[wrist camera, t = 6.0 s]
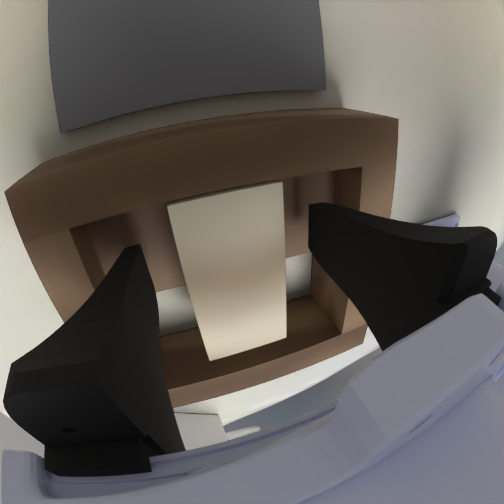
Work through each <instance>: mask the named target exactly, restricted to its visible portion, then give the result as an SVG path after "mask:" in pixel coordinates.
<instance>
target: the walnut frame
mask: <svg viewBox="0 0 504 504" xmlns="http://www.w3.org/2000/svg"><path fill="white" fill-rule="evenodd" d="M398 120H399V119H396V118H392V117H388V116H383V115H378V114H373V113H368V112H363V111H357V110H351V109H345V108H326V109H298V110H282V111H269V112H258V113H249V114H240V115H232V116H225V117H218V118H211V119H205V120H199V121H193V122H187V123H182V124H177V125H172V126H167V127H162V128H158V129H153V130H149V131H145V132H141V133H137V134H133V135H129V136H125V137H121V138H117V139H114V140H110V141H107V142H103V143H100V144H97V145H94V146H90V147H87V148H84V149H81V150H78V151H75V152H72V153H69V154H66V155H63V156H61V157H58V158H55V159H53V160H50V161H47V162H45V163H42V164H40V165H39V166H38V167H36V168H35V169H33V170H32V171H31V172H29V173H28V174H26V175H25V176H24V177H22V178H21V179H20V180H18V181H17V182H16V183H15V184H13V185H12V186H11V187H9V188H8V189H7V190H6V191H5V195H6V199H7V202H8V204H9V207H10V210H11V213H12V216H13V219H14V221H15V224H16V226H17V229H18V231H19V234H20V236H21V239H22V241H23V244H24V246H25V248H26V251H27V253H28V255H29V257H30V259H31V262H32V264H33V266H34V268H35V270H36V272H37V274H38V276H39V278H40V280H41V282H42V284H43V286H44V288H45V290H46V292H47V293H48V295H49V297H50V299H51V301H52V302H53V304H54V306H55V308H56V310H57V311H58V313H59V315H60V316H61V318H62V320H63V321H64V323H65V322H66V321H67V320H68V319H69V318H70V317H71V316H72V315H73V314H74V313H75V312H76V311H77V310H78V309H79V308H80V307H81V306H82V305H83V304H84V303H85V302H86V300H87V299H88V298H89V297H90V296H91V294H92V293H93V292H94V291H95V289H96V288H97V287H98V285H99V284H100V283H101V281H102V280H103V279H104V277H105V276H106V275H107V273H108V272H109V270H110V269H111V267H112V266H113V264H114V263H115V261H116V260H117V258H118V257H119V255H120V254H121V252H122V251H123V250H124V248H126V247H129V246H133V245H137V244H141V247H142V250H143V254H144V257H145V260H146V263H147V266H148V269H149V272H150V275H151V278H152V281H153V284H154V287H155V292H158V291H162V290H166V289H170V288H174V287H178V286H182V285H186V281H185V277H184V273H183V270H182V266H181V262H180V258H179V254H178V250H177V246H176V242H175V238H174V234H173V230H172V226H171V221H170V217H169V213H168V208H167V203H166V202H169V201H173V200H177V199H181V198H186V197H190V196H195V195H199V194H204V193H208V192H213V191H218V190H223V189H227V188H232V187H238V186H243V185H248V184H253V183H259V182H264V181H270V180H275V179H279V180H280V181H281V182H283V203H284V229H285V258H288V257H292V256H296V255H299V254H303V253H307V252H310V250H309V248H308V213H309V205H310V204H315V203H320V202H324V203H331V204H335V205H340V206H343V207H347V208H351V209H354V210H358V211H361V212H365V213H369V214H372V215H376V216H380V217H384V218H388V219H390V215H391V207H392V200H393V191H394V182H395V171H396V159H397V144H398ZM367 327H368V325H367V323H366V322H365V320H364V319H363V317H362V316H361V314H360V313H359V311H358V310H357V308H356V307H355V305H354V304H353V303H352V301H351V300H350V299H349V298H348V297H347V295H346V294H345V293H344V292H343V291H342V290H341V289H340V288H339V286H338V285H337V284H336V283H335V282H334V281H333V280H332V279H331V277H330V276H329V275H328V274H327V273H326V272H325V271H324V270H323V268H322V267H321V266H320V265H319V264H318V262H317V261H316V259H315V258H314V256H313V255H312V274H311V294H310V295H307V296H304V297H300V298H297V299H294V300H291V301H288V302H286V338H283V339H280V340H277V341H274V342H271V343H268V344H265V345H262V346H259V347H256V348H253V349H250V350H246V351H243V352H240V353H236V354H233V355H230V356H226V357H223V358H219V359H216V360H212V361H210V360H209V357H208V354H207V351H206V348H205V345H204V342H203V339H202V335H201V332H200V329H199V327H198V328H195V329H191V330H187V331H183V332H179V333H175V334H171V335H167V336H163V337H160V346H161V358H162V365H163V370H164V375H165V379H166V384H167V388H168V392H169V396H170V400H171V404H172V408H175V407H179V406H184V405H188V404H192V403H196V402H200V401H204V400H208V399H212V398H215V397H219V396H222V395H226V394H229V393H233V392H236V391H240V390H243V389H246V388H249V387H252V386H256V385H259V384H262V383H265V382H268V381H271V380H274V379H276V378H279V377H282V376H285V375H288V374H290V373H293V372H296V371H298V370H301V369H304V368H306V367H309V366H311V365H314V364H316V363H319V362H321V361H324V360H326V359H329V358H331V357H333V356H336V355H338V354H340V353H343V352H345V351H347V350H349V349H352V348H354V347H356V346H358V345H360V344H362V343H363V341H364V338H365V334H366V330H367Z"/></svg>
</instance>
